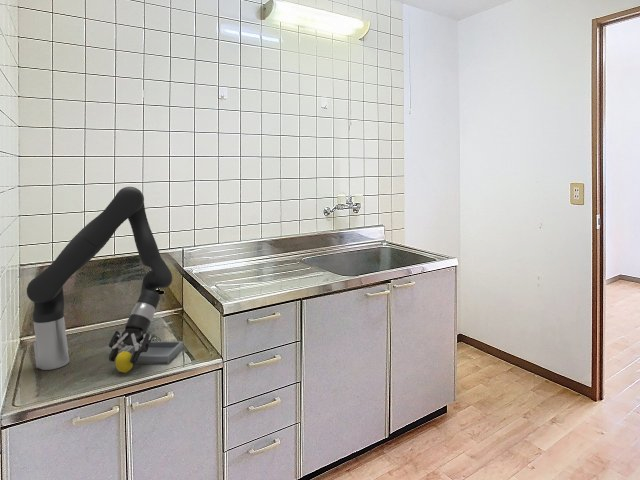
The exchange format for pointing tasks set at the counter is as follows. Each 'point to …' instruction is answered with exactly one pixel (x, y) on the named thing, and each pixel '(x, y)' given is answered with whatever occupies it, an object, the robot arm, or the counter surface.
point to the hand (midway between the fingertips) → (121, 362)
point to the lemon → (124, 361)
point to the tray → (159, 352)
